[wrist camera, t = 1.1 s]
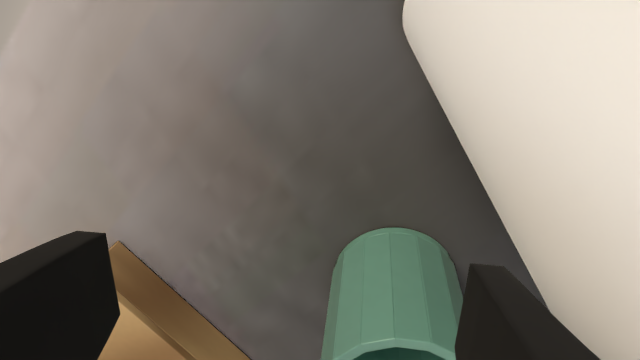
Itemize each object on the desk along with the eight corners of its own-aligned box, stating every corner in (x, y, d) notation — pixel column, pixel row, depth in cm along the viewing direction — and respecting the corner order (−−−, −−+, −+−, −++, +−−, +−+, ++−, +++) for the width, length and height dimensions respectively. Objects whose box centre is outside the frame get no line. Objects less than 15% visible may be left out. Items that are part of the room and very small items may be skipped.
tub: (481, 290, 21) (523, 422, 15) (383, 345, 22) (385, 482, 17) (406, 203, 19) (419, 310, 13) (308, 269, 21) (282, 389, 15)
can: (402, 74, 16) (592, 452, 12) (384, -83, 11) (754, 550, 6) (583, -3, 16) (858, 359, 11) (672, -215, 10) (1331, 364, 5)
